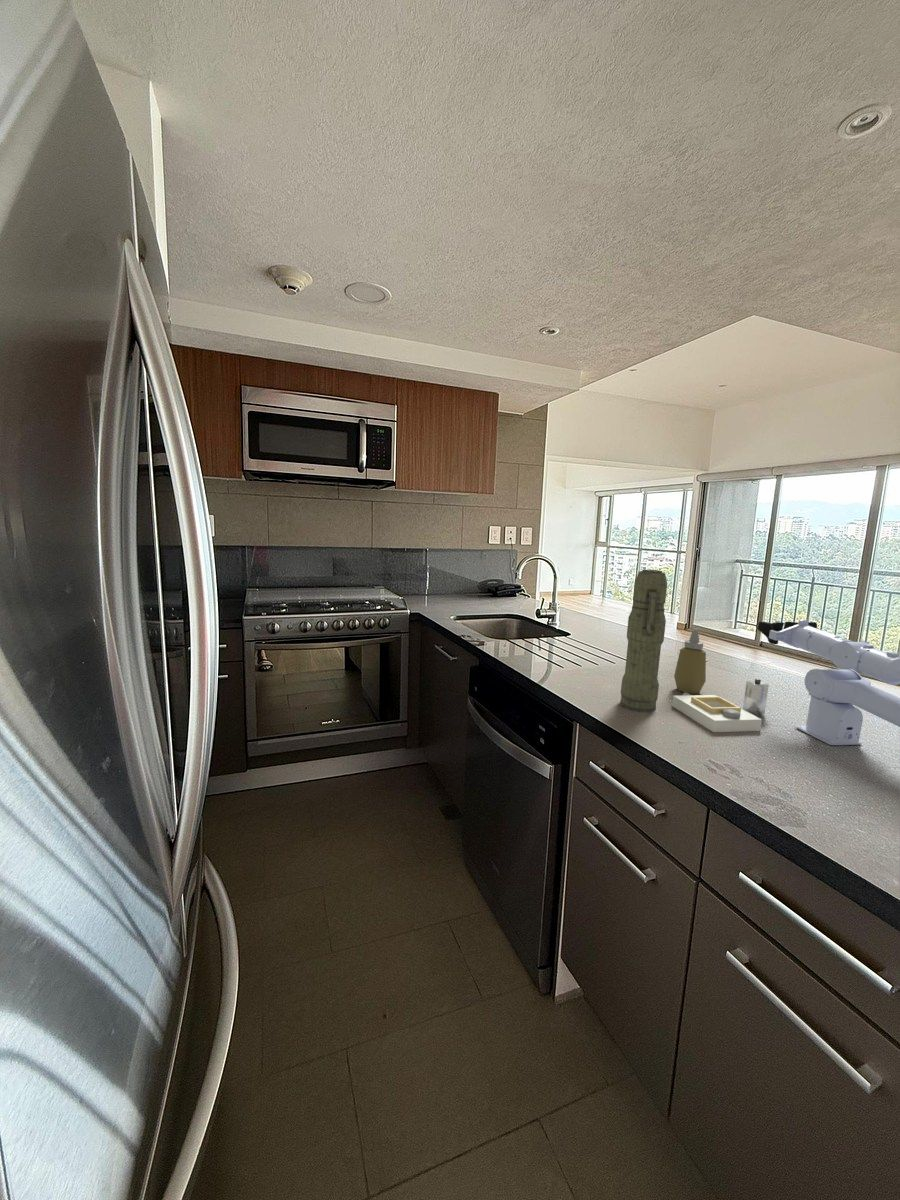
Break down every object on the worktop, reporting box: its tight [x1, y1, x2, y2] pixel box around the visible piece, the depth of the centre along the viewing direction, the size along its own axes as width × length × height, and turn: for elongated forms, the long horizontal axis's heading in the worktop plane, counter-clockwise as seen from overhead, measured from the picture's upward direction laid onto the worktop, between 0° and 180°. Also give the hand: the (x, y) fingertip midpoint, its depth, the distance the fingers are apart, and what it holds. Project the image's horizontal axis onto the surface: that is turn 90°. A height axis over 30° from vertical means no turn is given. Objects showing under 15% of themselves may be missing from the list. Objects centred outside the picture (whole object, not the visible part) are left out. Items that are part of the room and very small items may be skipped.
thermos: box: [620, 569, 668, 713], centre depth 125 cm, size 9×12×35 cm
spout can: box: [742, 678, 770, 718], centre depth 124 cm, size 5×5×9 cm
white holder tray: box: [671, 692, 763, 733], centre depth 122 cm, size 20×12×4 cm, turn 8°
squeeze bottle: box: [673, 628, 707, 695], centre depth 139 cm, size 8×8×18 cm
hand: (772, 625), depth 128 cm, fingers open, 7 cm apart
